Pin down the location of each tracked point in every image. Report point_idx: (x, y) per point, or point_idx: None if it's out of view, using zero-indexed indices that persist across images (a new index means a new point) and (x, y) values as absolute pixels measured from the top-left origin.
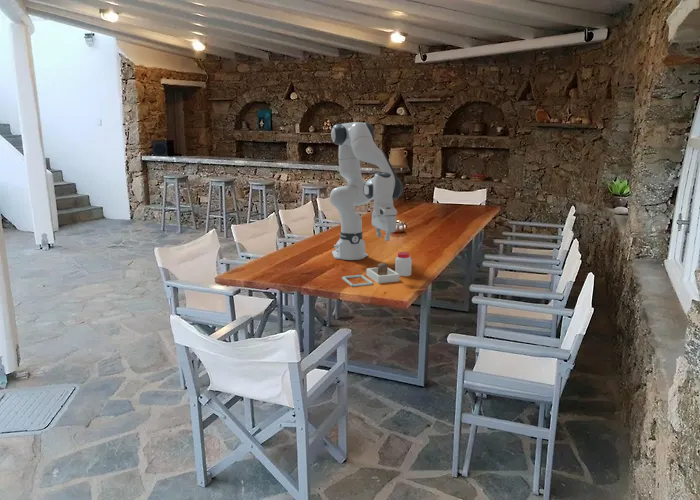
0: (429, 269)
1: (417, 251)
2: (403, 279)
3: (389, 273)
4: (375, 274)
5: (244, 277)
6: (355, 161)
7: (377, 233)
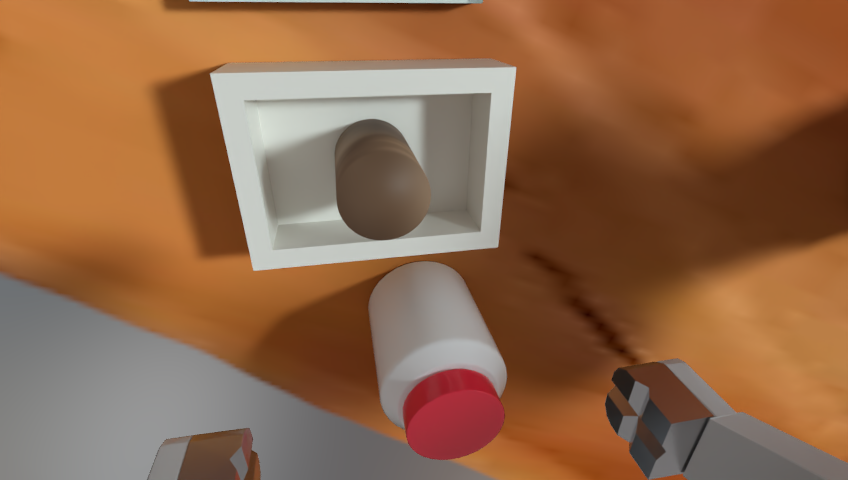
0: None
1: None
2: (335, 283)
3: None
4: (290, 73)
5: None
6: None
7: (690, 417)
